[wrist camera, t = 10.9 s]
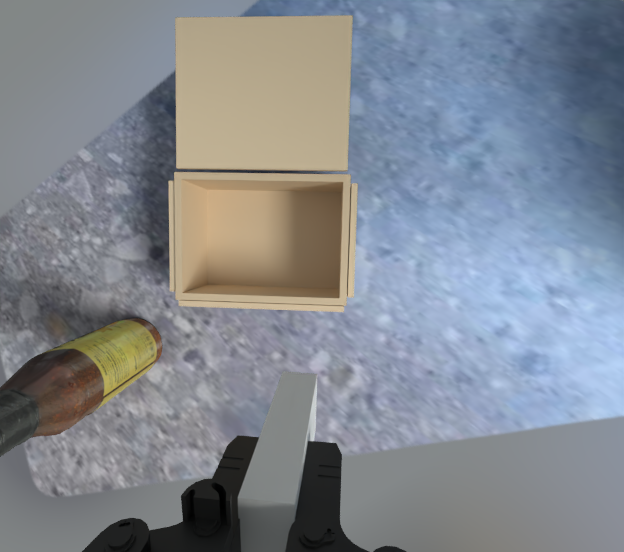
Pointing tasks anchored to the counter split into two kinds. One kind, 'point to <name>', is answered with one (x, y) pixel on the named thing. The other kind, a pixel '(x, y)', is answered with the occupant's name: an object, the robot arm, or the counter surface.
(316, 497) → the robot arm
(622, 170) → the counter surface
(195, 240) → the wooden box
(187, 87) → the flap
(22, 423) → the sauce bottle
